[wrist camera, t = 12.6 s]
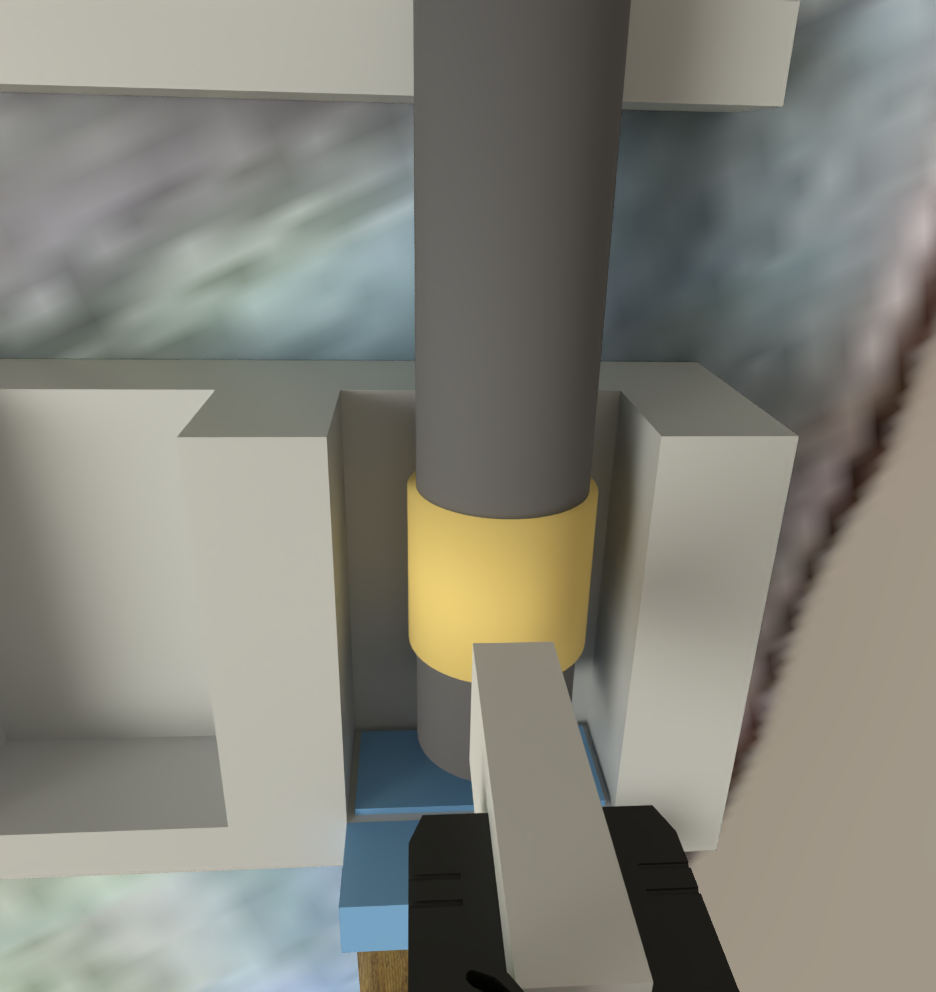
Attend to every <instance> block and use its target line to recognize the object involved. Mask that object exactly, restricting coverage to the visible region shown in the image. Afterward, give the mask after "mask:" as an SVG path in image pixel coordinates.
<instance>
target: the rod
mask: <svg viewBox="0 0 936 992" xmlns="http://www.w3.org/2000/svg"><path fill="white" fill-rule="evenodd" d="M630 8H631V0H413V51H414V230H415V409H416V471H415V472H414V473H413V474H412V475H411V476H410V477H409V479H408V482H407V519H408V618H409V641H410V644H411V646H412V649H413V650H414V652H415V653H416V654H417V735H418V741H419V743H420V746H421V748H422V750H423V751H424V753H425V754H426V755H427V757H428V758H429V759H430V760H431V761H432V762H433V763H434V764H436V765H437V766H438V767H440V768H441V769H443V770H444V771H446V772H448V773H450V774H452V775H454V776H457V777H460V778H462V779H466V780H470V781H471V771H470V761H469V758H470V722H471V686H472V651H473V643H515V642H554V645H555V649H556V652H557V656H558V659H559V662H560V666H561V669H562V673H563V676H564V680H565V683H566V686H567V690H568V693H569V697H570V700H571V703H572V692H573V681H574V669H575V662H576V661H577V660H578V658H579V657H580V655H581V654H582V652H583V649H584V645H585V636H586V625H587V614H588V603H589V591H590V580H591V569H592V558H593V547H594V535H595V524H596V513H597V502H598V487H597V485H596V483H595V481H594V480H593V479H592V478H591V468H592V456H593V444H594V433H595V421H596V409H597V397H598V385H599V374H600V362H601V350H602V338H603V326H604V315H605V303H606V291H607V279H608V267H609V255H610V244H611V232H612V220H613V208H614V196H615V185H616V173H617V161H618V149H619V137H620V126H621V114H622V102H623V90H624V78H625V67H626V55H627V43H628V31H629V19H630Z"/></svg>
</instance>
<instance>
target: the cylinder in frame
mask: <svg viewBox="0 0 936 992" xmlns="http://www.w3.org/2000/svg"><path fill="white" fill-rule="evenodd" d="M799 5H800V1H788V0H631V8H630V19H629V31H628V43H627V55H626V67H625V78H624V90H623V102H622V109H624V110H659V111H695V112H731V113H733V112H741V111H749V110H757V109H765V108H773V107H781V106H783V103H784V97H785V91H786V85H787V78H788V72H789V66H790V60H791V54H792V48H793V41H794V35H795V29H796V23H797V17H798V11H799ZM0 92H18V93H54V94H89V95H125V96H161V97H196V98H232V99H267V100H303V101H339V102H374V103H410V104H414V51H413V0H0ZM798 439H799V436H798V435H797V434H795V433H794V432H793V431H791V430H790V429H788V428H787V427H786V426H784V425H783V424H782V423H780V422H779V421H777V420H776V419H775V418H773V417H772V416H771V415H769V414H768V413H766V412H765V411H764V410H762V409H761V408H760V407H758V406H757V405H756V404H754V403H753V402H751V401H750V400H749V399H747V398H746V397H745V396H743V395H742V394H740V393H739V392H738V391H736V390H735V389H734V388H732V387H731V386H729V385H728V384H727V383H725V382H724V381H723V380H721V379H720V378H718V377H717V376H716V375H714V374H713V373H712V372H710V371H709V370H707V369H706V368H705V367H703V366H702V365H701V364H699V363H698V362H600V374H599V385H598V397H597V409H596V421H595V433H594V444H593V456H592V468H591V478H592V479H593V480H594V481H595V483H596V485H597V487H598V502H597V513H596V524H595V535H594V547H593V558H592V569H591V580H590V591H589V603H588V614H587V625H586V636H585V645H584V649H583V652H582V654H581V655H580V657H579V658H578V660H577V661H576V662H575V669H574V681H573V692H572V707H573V710H574V714H575V717H576V720H577V724H578V727H579V731H580V734H581V737H582V741H583V744H584V748H585V751H586V754H587V758H588V761H589V765H590V768H591V772H592V775H593V778H594V782H595V785H596V789H597V792H598V795H599V799H600V802H601V806H602V807H610V806H640V805H653V806H654V807H655V808H656V810H657V811H658V812H659V813H660V814H661V815H662V816H663V817H664V818H665V819H666V820H667V822H668V823H669V824H670V825H671V826H672V827H673V828H674V829H675V830H676V832H677V835H678V837H679V840H680V842H681V845H682V847H683V850H684V852H690V851H715V850H717V845H718V840H719V835H720V830H721V825H722V820H723V815H724V810H725V805H726V800H727V795H728V790H729V785H730V780H731V775H732V770H733V765H734V760H735V755H736V750H737V745H738V740H739V735H740V730H741V725H742V720H743V715H744V710H745V705H746V700H747V695H748V690H749V685H750V680H751V674H752V669H753V664H754V659H755V654H756V649H757V644H758V639H759V634H760V629H761V624H762V619H763V614H764V609H765V604H766V599H767V594H768V589H769V584H770V579H771V574H772V569H773V564H774V559H775V554H776V549H777V544H778V539H779V534H780V529H781V524H782V519H783V514H784V509H785V504H786V499H787V494H788V489H789V484H790V479H791V474H792V469H793V464H794V459H795V454H796V449H797V444H798ZM415 471H416V409H415V361H354V360H150V359H0V879H21V878H46V877H70V876H95V875H120V874H145V873H170V872H194V871H219V870H244V869H269V868H293V867H318V866H343V869H342V880H341V890H340V901H339V918H340V934H341V950H342V953H346V952H367V951H388V950H408V856H409V841H410V839H411V837H412V835H413V833H414V831H415V829H416V827H417V825H418V823H419V821H420V819H421V817H422V815H437V814H466V813H474V802H473V792H472V782H471V781H470V780H466V779H462V778H460V777H457V776H454V775H452V774H450V773H448V772H446V771H444V770H443V769H441V768H440V767H438V766H437V765H436V764H434V763H433V762H432V761H431V760H430V759H429V758H428V757H427V755H426V754H425V753H424V751H423V750H422V748H421V746H420V743H419V741H418V735H417V654H416V653H415V652H414V650H413V649H412V646H411V644H410V641H409V618H408V519H407V482H408V479H409V477H410V476H411V475H412V474H413V473H414V472H415Z"/></svg>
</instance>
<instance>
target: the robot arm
mask: <svg viewBox="0 0 936 992" xmlns="http://www.w3.org/2000/svg"><path fill="white" fill-rule="evenodd" d="M469 761H470V771H471V782H472V792H473V802H474V813H466V814H437V815H422V817H421V819H420V821H419V823H418V825H417V827H416V829H415V831H414V833H413V835H412V837H411V839H410V841H409V856H408V992H740V991H739V989H738V988H737V985H736V982H735V980H734V977H733V975H732V972H731V969H730V967H729V964H728V962H727V959H726V957H725V954H724V952H723V949H722V947H721V944H720V941H719V939H718V936H717V934H716V931H715V929H714V926H713V924H712V921H711V919H710V916H709V914H708V911H707V908H706V906H705V904H704V901H703V898H702V896H701V894H699V892H698V886H697V883H696V880H695V878H694V875H693V873H692V870H691V868H689V866H688V860H687V857H686V855H685V852H684V850H683V847H682V845H681V842H680V840H679V837H678V835H677V832H676V830H675V829H674V828H673V827H672V826H671V825H670V824H669V823H668V822H667V820H666V819H665V818H664V817H663V816H662V815H661V814H660V813H659V812H658V811H657V810H656V808H655V807H654V806H653V805H640V806H610V807H602V806H601V802H600V799H599V795H598V792H597V789H596V785H595V782H594V778H593V775H592V772H591V768H590V765H589V761H588V758H587V754H586V751H585V748H584V744H583V741H582V737H581V734H580V731H579V727H578V724H577V720H576V717H575V714H574V710H573V707H572V703H571V700H570V697H569V693H568V690H567V686H566V683H565V680H564V676H563V673H562V669H561V666H560V662H559V659H558V656H557V652H556V649H555V645H554V642H515V643H473V651H472V686H471V722H470V758H469Z"/></svg>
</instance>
